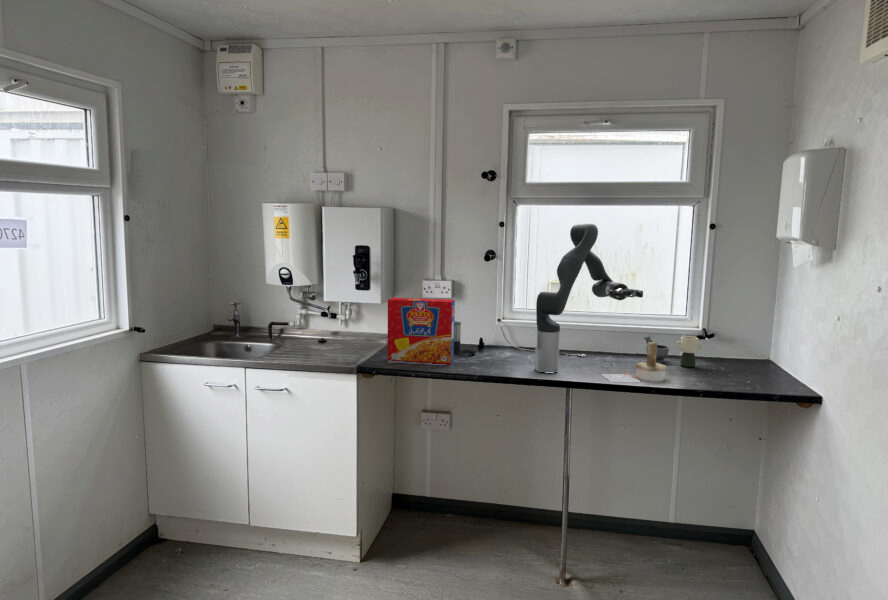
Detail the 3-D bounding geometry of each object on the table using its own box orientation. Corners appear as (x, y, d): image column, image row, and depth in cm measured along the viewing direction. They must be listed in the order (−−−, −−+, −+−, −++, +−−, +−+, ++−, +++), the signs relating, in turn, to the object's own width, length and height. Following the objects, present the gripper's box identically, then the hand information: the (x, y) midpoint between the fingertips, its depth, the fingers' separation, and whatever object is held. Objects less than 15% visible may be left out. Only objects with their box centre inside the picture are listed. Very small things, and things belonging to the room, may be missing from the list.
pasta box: (387, 363, 246) (387, 299, 242) (392, 359, 254) (392, 297, 250) (450, 366, 241) (451, 302, 238) (453, 362, 249) (454, 299, 245)
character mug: (698, 365, 250) (700, 336, 248) (703, 369, 243) (705, 339, 241) (672, 363, 252) (674, 335, 250) (676, 367, 245) (678, 338, 243)
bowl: (644, 381, 221) (644, 370, 220) (633, 375, 231) (633, 364, 230) (668, 381, 222) (669, 370, 221) (656, 375, 232) (657, 364, 231)
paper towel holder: (643, 371, 219) (644, 346, 218) (630, 364, 231) (631, 340, 230) (672, 371, 220) (674, 346, 219) (658, 363, 232) (660, 340, 231)
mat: (611, 383, 218) (611, 382, 218) (597, 374, 232) (598, 373, 232) (643, 383, 219) (643, 382, 219) (628, 373, 233) (628, 372, 233)
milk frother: (440, 351, 271) (440, 320, 270) (472, 350, 274) (472, 320, 272) (445, 357, 258) (445, 325, 256) (478, 357, 260) (479, 325, 258)
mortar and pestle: (664, 359, 260) (666, 333, 259) (671, 364, 251) (672, 337, 250) (640, 358, 262) (641, 333, 260) (645, 363, 252) (646, 337, 251)
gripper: (601, 282, 252) (616, 286, 236) (632, 282, 253) (648, 286, 237) (600, 299, 253) (615, 303, 237) (631, 299, 254) (647, 304, 238)
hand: (631, 295), depth 237 cm, fingers open, 8 cm apart
